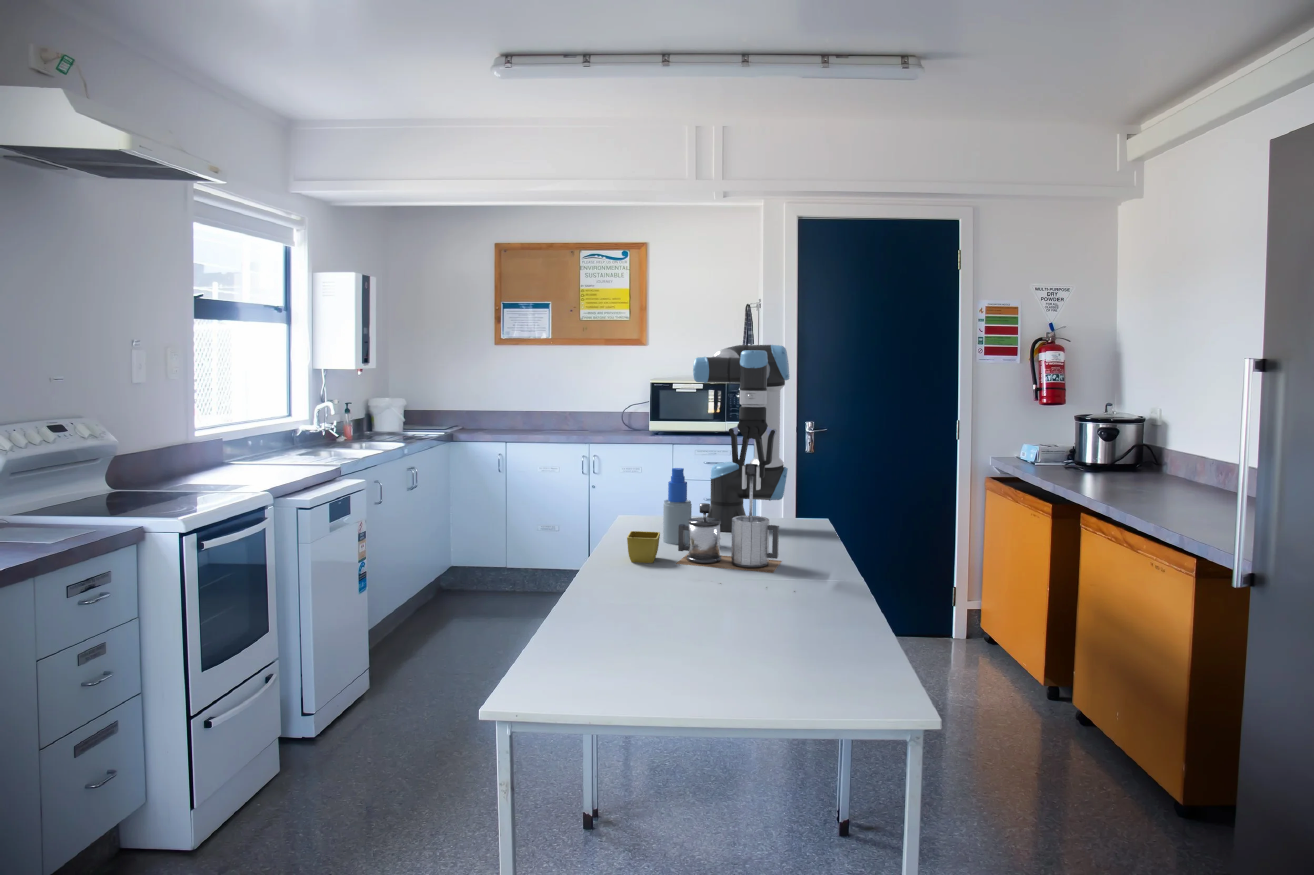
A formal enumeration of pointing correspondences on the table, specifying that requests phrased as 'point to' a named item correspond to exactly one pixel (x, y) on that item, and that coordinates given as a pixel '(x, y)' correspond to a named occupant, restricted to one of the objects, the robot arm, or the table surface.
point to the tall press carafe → (753, 542)
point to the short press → (701, 538)
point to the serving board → (727, 564)
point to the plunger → (751, 485)
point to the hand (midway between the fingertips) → (751, 488)
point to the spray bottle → (676, 508)
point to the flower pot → (643, 546)
